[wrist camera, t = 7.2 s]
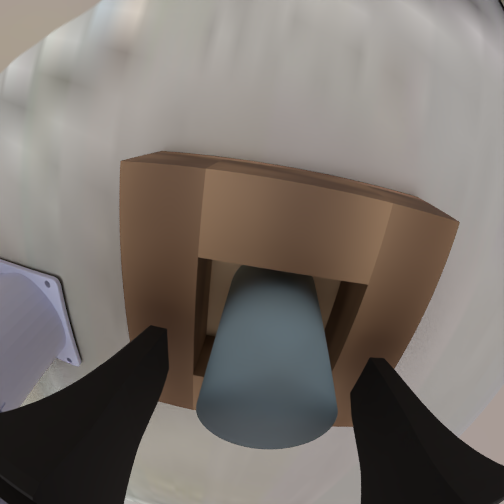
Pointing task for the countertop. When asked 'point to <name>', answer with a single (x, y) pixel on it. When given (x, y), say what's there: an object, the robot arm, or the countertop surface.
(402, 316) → the walnut holder
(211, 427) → the peg
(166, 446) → the countertop surface
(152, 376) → the robot arm
